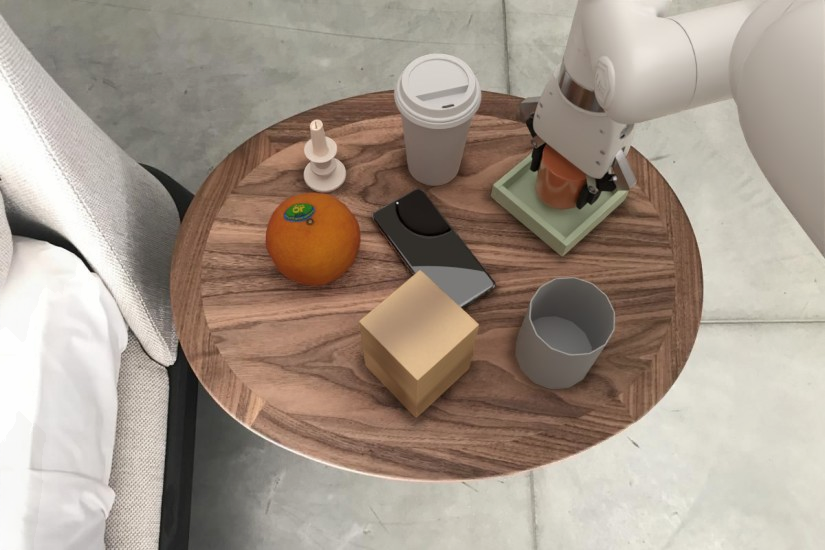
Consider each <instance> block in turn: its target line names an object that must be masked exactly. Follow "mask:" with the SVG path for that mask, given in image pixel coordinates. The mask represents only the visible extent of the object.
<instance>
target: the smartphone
mask: <svg viewBox="0 0 825 550" xmlns="http://www.w3.org/2000/svg"><path fill="white" fill-rule="evenodd" d="M371 220H372V222H373V223H374V224H375V226H376V227H377V228H378V230H379V231H380V233H381V234H382V235H383V236H384V238H385V239H386V240H387V242H388V243H389V245H390V246H392V248H393V250H394V251H395V252H396V254H397V255H398V256H399V258H400V259H401V261H402V262H403V263H404V265H405V266H406V267H407V269H408V270H409V271H410V273H411V274H412V276H413V275H415V274H416V273H417V272H418V271H419V270H421V271H422V272H423V273H424V274H425V275H427V276H428V277H429V278H430V279H431V280H432V281H433V282H434V283H435V284H436V285H437V286H438V287H439V288H440V289H442V290H443V291H444V292H445V293H446V294H447V295H448V296H449V297H450V298H451V299H452V300H453V301H454V302H455V303H457V304H458V305H459V306H460V307H461V308H462V309H463V310H464V309H465V308H467V307H468V306H470V305H472V304H473V303H475V302H477V301H478V300H480V299H482V298H483V297H485V296H486V295H488V294H490V293H491V292H493V291H494V290H495V289H496V287H497V285H496V283H497V282H496V281H495V280H494V278H493V277H492V276H491V275H490V274H489V272H488V271H487V269H486V268H485V267H484V265H483V264H482V263H481V262H480V261H479V259H477V257H476V255H475V254H474V253H473V252H472V251H471V249H470V248H469V247H468V246H467V244H466V243H465V241H463V239H462V238H461V236H460V235H459V234H458V233H457V232H456V230H455V229H454V228H453V226H452V225H451V223H450V222H449V221H448V220H447V219H446V218H445V216H444V215H443V214H442V212H441V211H440V210H439V208H438V207H437V206H436V205H435V204H434V203H433V201H432V200H431V199H430V198H429V196H428V195H427V194H426V192H425V191H424V190H423V189H421V188H415V189H413V190H411V191H409V192H407V193H405V194H404V195H402V196H399V197H398V198H396V199H395V200H393V201H391V202H389V203H387V204H385V205H384V206H382V207H380V208H378V209H376V210H375V211H374V212H372V214H371Z"/></svg>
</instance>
